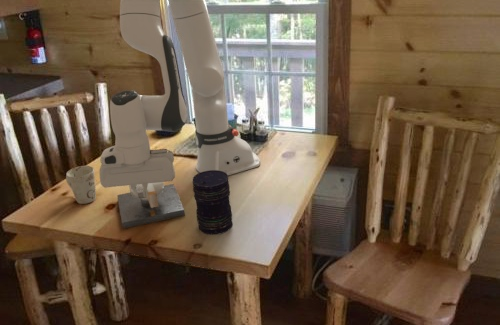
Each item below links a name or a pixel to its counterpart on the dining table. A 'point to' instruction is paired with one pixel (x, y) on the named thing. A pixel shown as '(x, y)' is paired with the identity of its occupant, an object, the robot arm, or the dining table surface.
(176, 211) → the plate
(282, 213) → the dining table surface
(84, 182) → the mug
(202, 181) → the dark blue ribbed cylinder
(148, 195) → the white handled oval piece
